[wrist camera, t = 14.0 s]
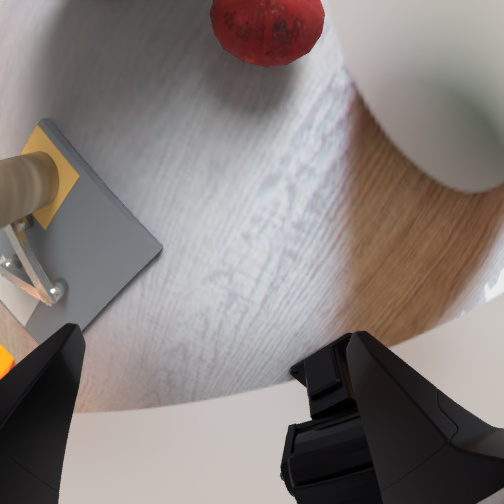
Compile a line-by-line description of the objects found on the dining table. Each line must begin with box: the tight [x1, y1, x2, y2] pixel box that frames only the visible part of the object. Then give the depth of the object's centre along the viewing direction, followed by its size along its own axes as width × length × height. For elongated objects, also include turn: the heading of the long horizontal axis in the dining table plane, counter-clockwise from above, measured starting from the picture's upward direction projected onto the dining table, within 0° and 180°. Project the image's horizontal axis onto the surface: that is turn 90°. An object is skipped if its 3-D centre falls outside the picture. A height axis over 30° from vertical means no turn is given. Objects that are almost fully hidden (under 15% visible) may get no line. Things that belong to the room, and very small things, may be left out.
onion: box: [210, 0, 325, 67], centre depth 12 cm, size 6×6×8 cm
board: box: [0, 119, 163, 345], centre depth 22 cm, size 14×20×1 cm
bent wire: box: [0, 214, 69, 306], centre depth 20 cm, size 7×6×2 cm
